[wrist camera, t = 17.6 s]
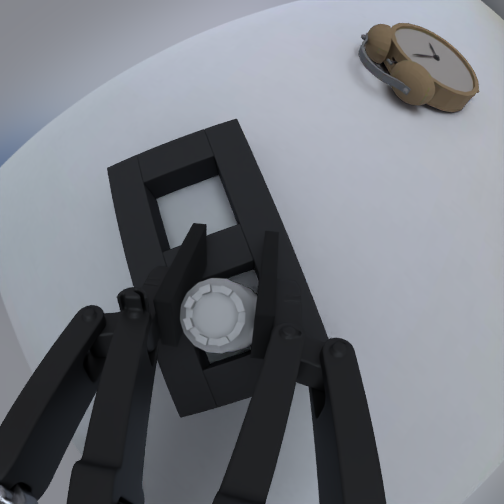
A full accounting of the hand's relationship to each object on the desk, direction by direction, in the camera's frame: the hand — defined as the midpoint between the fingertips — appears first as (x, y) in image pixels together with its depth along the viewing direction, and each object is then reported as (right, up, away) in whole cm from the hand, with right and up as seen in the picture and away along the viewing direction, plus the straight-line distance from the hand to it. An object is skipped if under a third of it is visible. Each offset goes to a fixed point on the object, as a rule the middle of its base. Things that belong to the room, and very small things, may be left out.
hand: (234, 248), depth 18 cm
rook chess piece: (0, -4, +2) cm, 5 cm away
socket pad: (-2, -1, +4) cm, 5 cm away
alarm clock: (+18, +19, +8) cm, 28 cm away
